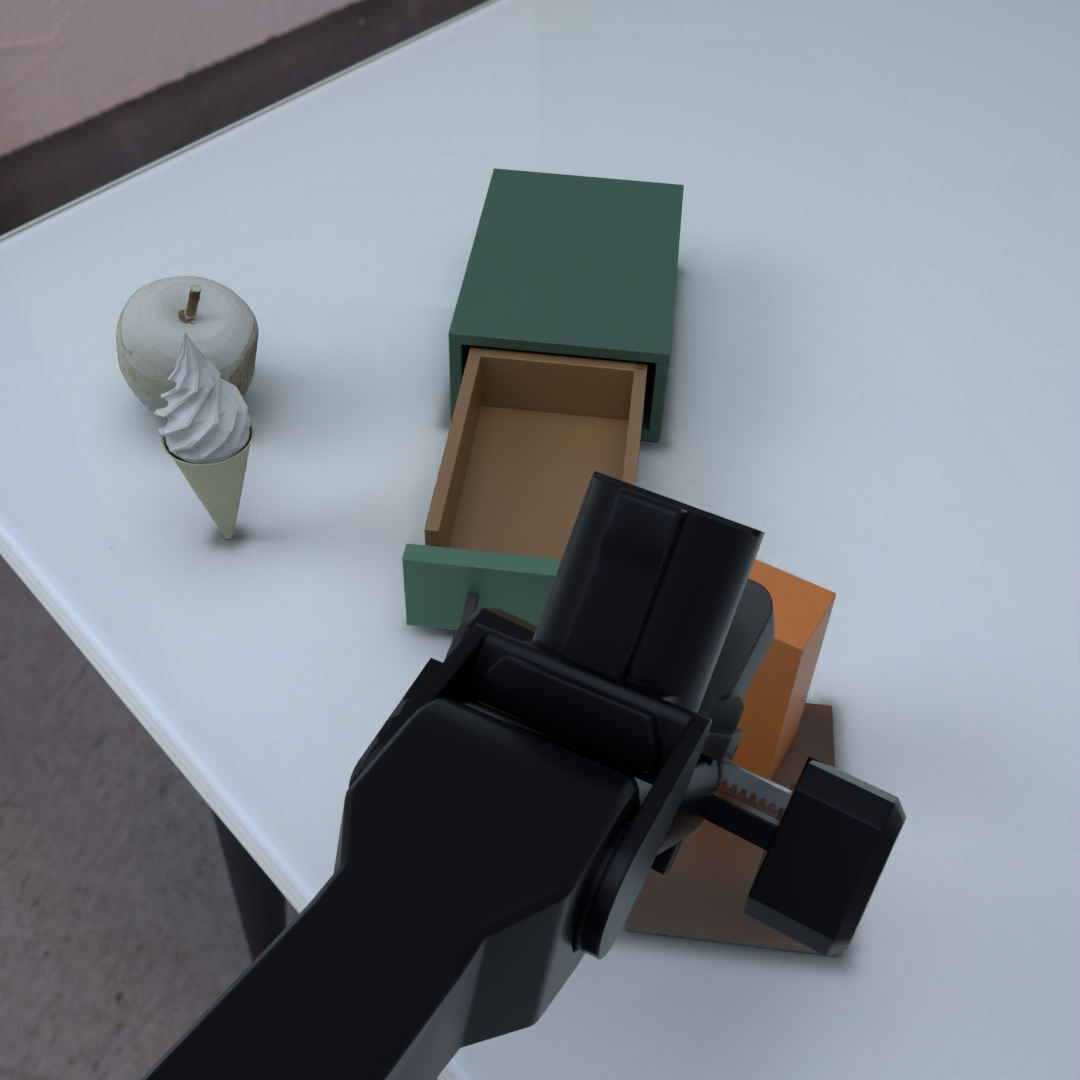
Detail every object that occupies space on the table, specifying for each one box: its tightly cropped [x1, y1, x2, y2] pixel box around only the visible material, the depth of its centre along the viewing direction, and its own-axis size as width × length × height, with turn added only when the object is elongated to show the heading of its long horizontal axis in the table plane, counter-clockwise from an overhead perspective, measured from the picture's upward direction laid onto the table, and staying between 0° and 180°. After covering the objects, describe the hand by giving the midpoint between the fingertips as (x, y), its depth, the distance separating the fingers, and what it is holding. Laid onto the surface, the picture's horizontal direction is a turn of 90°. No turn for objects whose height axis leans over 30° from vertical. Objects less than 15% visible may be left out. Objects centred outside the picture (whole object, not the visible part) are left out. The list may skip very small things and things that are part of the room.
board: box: [623, 702, 844, 958], centre depth 65 cm, size 14×10×1 cm
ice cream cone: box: [154, 333, 256, 540], centre depth 72 cm, size 5×5×15 cm
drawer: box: [401, 347, 648, 641], centre depth 74 cm, size 23×12×5 cm, turn 173°
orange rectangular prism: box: [732, 558, 837, 780], centre depth 64 cm, size 4×5×11 cm
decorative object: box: [115, 275, 259, 419], centre depth 82 cm, size 9×9×10 cm
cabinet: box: [447, 167, 685, 443], centre depth 89 cm, size 20×14×7 cm
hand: (698, 752), depth 59 cm, fingers open, 9 cm apart
